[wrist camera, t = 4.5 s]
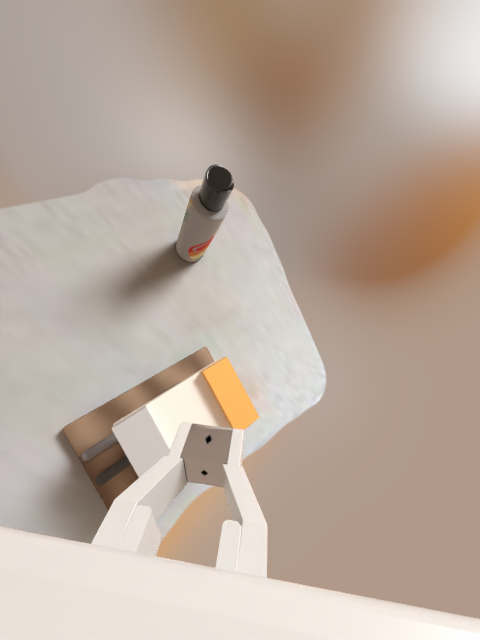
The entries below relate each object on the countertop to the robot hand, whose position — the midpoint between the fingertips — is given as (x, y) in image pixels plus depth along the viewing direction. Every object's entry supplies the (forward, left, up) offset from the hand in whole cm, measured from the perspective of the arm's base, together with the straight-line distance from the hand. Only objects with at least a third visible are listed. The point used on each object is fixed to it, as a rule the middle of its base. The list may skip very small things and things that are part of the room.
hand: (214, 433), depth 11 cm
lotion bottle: (+17, +21, -32) cm, 42 cm away
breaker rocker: (+1, -5, -23) cm, 24 cm away
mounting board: (-2, -5, -32) cm, 32 cm away
